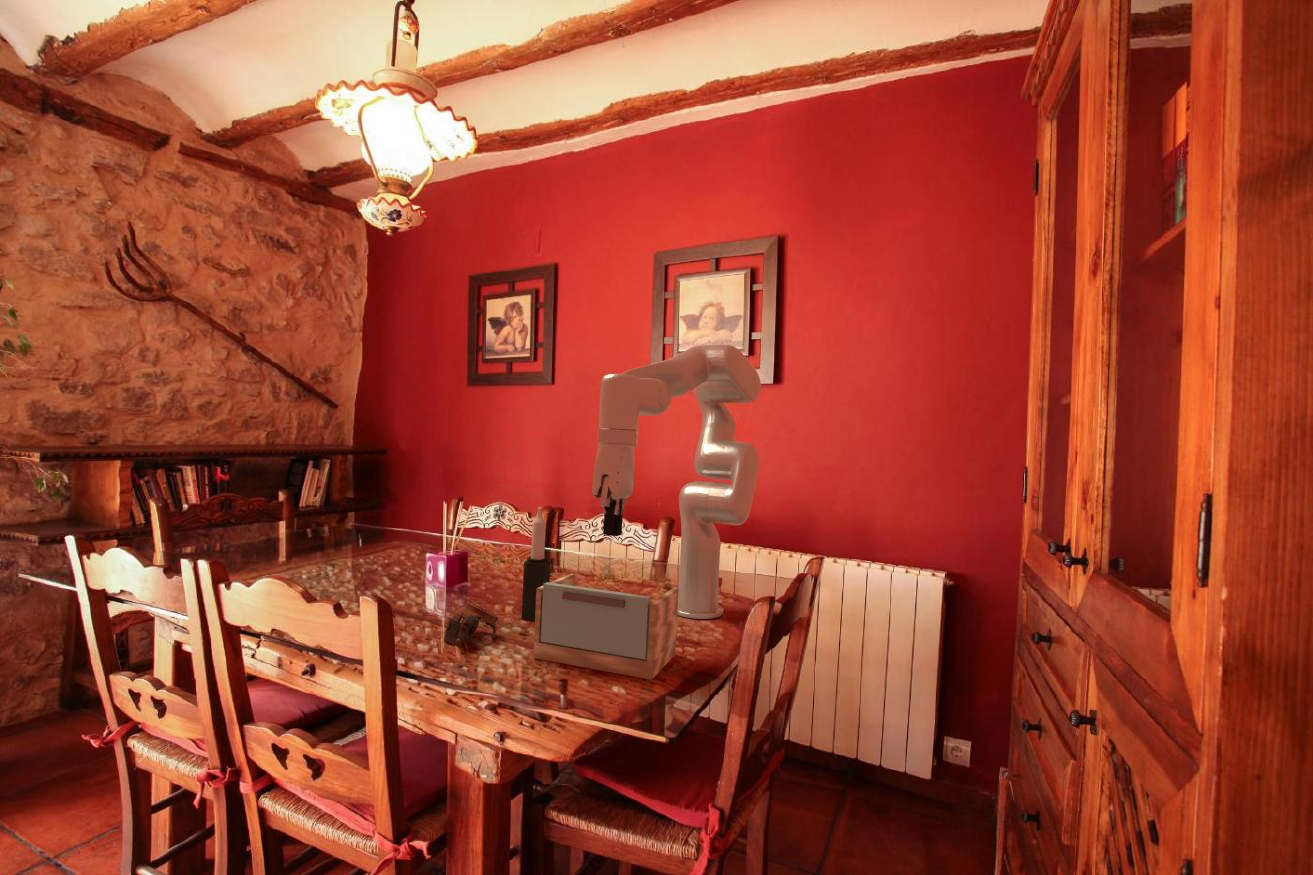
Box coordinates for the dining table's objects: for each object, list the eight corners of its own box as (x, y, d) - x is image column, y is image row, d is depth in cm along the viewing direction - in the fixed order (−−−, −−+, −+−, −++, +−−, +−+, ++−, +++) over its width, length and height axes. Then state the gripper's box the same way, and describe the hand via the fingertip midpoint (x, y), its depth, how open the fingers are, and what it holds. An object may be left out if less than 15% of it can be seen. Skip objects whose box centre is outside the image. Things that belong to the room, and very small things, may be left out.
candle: (541, 621, 138) (546, 509, 138) (519, 619, 139) (524, 507, 139) (549, 615, 143) (554, 506, 143) (528, 613, 144) (533, 504, 144)
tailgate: (544, 639, 118) (547, 582, 117) (648, 656, 111) (650, 596, 111) (539, 642, 116) (541, 584, 115) (643, 660, 109) (646, 599, 109)
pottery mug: (442, 635, 128) (463, 598, 131) (483, 656, 129) (503, 618, 132) (436, 639, 117) (459, 598, 120) (481, 662, 118) (503, 621, 120)
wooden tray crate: (567, 636, 130) (570, 573, 130) (675, 654, 122) (678, 587, 122) (533, 658, 117) (536, 588, 117) (651, 679, 109) (655, 605, 109)
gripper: (614, 439, 128) (609, 528, 128) (583, 437, 114) (577, 538, 114) (649, 440, 126) (644, 532, 126) (621, 439, 112) (615, 542, 111)
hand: (612, 534), depth 120 cm, fingers closed
